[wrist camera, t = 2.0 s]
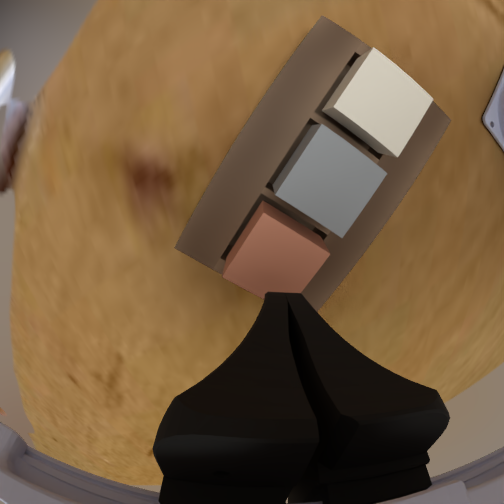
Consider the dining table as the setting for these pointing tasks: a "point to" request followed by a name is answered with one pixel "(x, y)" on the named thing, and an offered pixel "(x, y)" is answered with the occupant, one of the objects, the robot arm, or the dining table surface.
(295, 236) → the terracotta key
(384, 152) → the cream key
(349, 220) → the slate key
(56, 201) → the dining table surface
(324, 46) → the key block
